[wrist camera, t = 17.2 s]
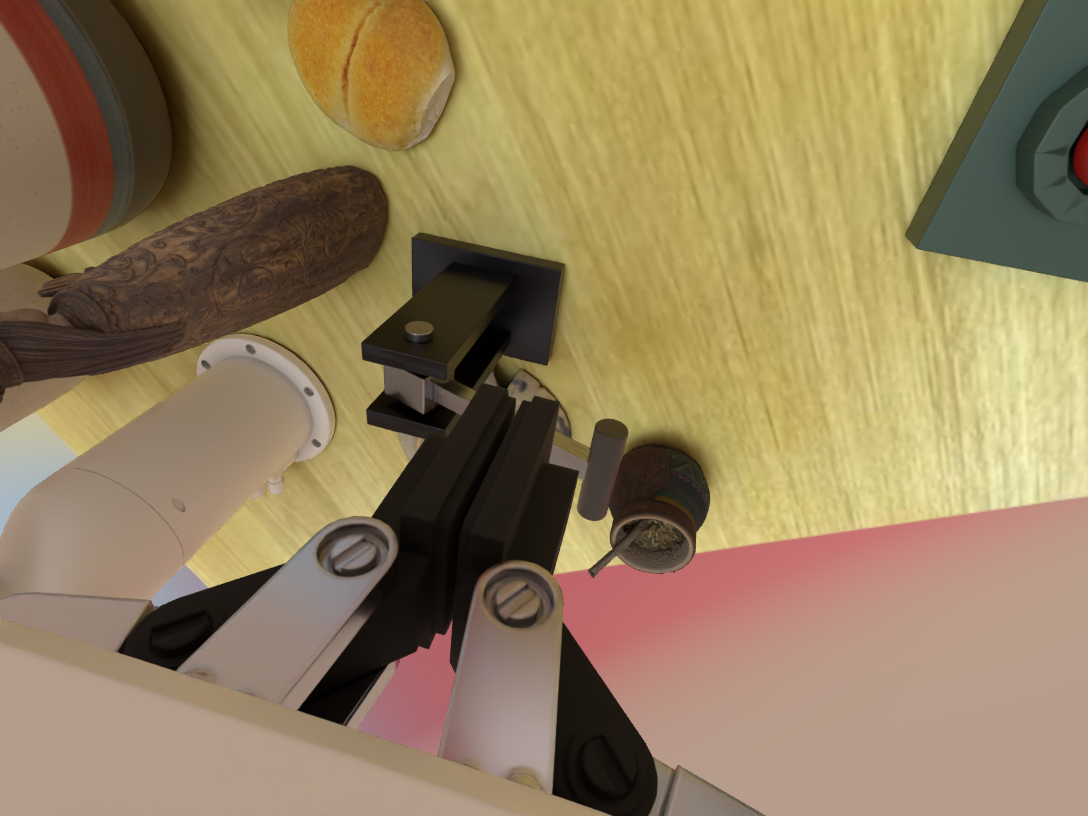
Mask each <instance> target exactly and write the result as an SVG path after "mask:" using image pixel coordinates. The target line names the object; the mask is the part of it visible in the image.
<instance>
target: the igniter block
mask: <svg viewBox="0 0 1088 816" xmlns="http://www.w3.org/2000/svg"><path fill="white" fill-rule="evenodd" d="M1087 128H1088V0H1025V2H1024V4H1023V6H1022V7H1021V9H1020V11H1019V13H1018V15H1017V17H1016V19H1015V21H1014V23H1013V25H1012V27H1011V29H1010V31H1009V33H1008V35H1007V37H1006V39H1005V41H1004V43H1003V45H1002V47H1001V49H1000V51H999V53H998V55H997V57H996V58H995V60H994V62H993V64H992V66H991V68H990V70H989V72H988V74H987V76H986V78H985V80H984V82H983V84H982V86H981V88H980V90H979V92H978V94H977V96H976V98H975V100H974V102H973V104H972V106H971V107H970V109H969V111H968V113H967V115H966V117H965V119H964V121H963V123H962V125H961V127H960V129H959V131H958V133H957V135H956V137H955V139H954V141H953V143H952V145H951V147H950V149H949V151H948V153H947V155H946V157H945V158H944V160H943V162H942V164H941V166H940V168H939V170H938V172H937V174H936V176H935V178H934V180H933V182H932V184H931V186H930V188H929V190H928V192H927V194H926V196H925V198H924V200H923V202H922V204H921V206H920V207H919V209H918V211H917V213H916V215H915V217H914V219H913V221H912V223H911V225H910V227H909V229H908V231H907V233H906V235H905V237H906V238H907V239H908V240H909V241H910V242H911V243H912V244H913V245H914V246H915V247H916V248H917V249H920V250H925V251H930V252H935V253H940V254H945V255H950V256H956V257H961V258H966V259H971V260H976V261H981V262H986V263H991V264H996V265H1001V266H1007V267H1012V268H1017V269H1022V270H1027V271H1032V272H1037V273H1042V274H1047V275H1053V276H1058V277H1063V278H1068V279H1073V280H1078V281H1083V282H1088V186H1087V185H1086V184H1084V183H1083V182H1082V181H1080V180H1079V178H1078V177H1077V175H1076V173H1075V171H1074V167H1073V156H1074V151H1075V148H1076V145H1077V143H1078V141H1079V139H1080V137H1081V136H1082V134H1083V133H1084V131H1085V130H1086V129H1087Z"/></svg>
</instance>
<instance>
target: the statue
mask: <svg viewBox="0 0 1088 816" xmlns="http://www.w3.org/2000/svg"><path fill="white" fill-rule="evenodd" d="M385 225H386V219H385V199H384V196H383V194H382V192H381V190H380V187H379V185H378V183H377V181H376V180H375V178H374V177H373V176H372V175H371V174H370V173H368V172H367V171H362V170H360V169H358V168H356V167H353V166H344V167H335V168H326V169H318V170H314V171H311V172H308V173H302V174H298V175H295V176H291V177H289V178H287V179H284V180H278V181H276V182H273V183H271V184H267V185H265V186H264V187H259V188H256V189H253V190H251V191H249V192H246V193H243V194H241V195H239V196H236V197H234V198H232V199H229V200H227V201H224V202H222V203H220V204H218V205H217V206H213V207H210V208H209V209H207V210H205V211H203V212H199V213H197V214H194V215H192V216H189V217H187V218H185V219H184V220H183V221H181V222H177V223H175V224H172V225H170V226H168V227H167V228H165V229H164V230H162V231H158V232H156V233H155V234H154V235H152V236H150V237H148V238H145V239H143V240H142V241H140V242H138V243H136V244H134V245H132V246H131V247H129V248H128V249H127V250H125V251H123V252H121V253H120V254H118V255H116V256H112V257H111V258H109V259H108V260H107V261H106V262H104V263H102V264H101V265H99V266H97V267H89V268H85V273H74V274H68V275H65V276H62V277H59V278H55V279H52V280H50V281H47V282H45V283H44V284H43V285H42V286H43V287H42V288H41V289H40V290H38V291H37V294H38V295H39V297H43V298H44V297H53V298H52V299H51V301H50V303H49V307H48V309H47V314H48V315H47V314H45V313H44V312H42V311H40V310H37V309H30V308H26V309H16V310H12V311H8V312H0V403H1V402H2V400H3V395H4V393H5V389H6V388H11V387H14V386H20V385H21V384H22V383H26V382H35V381H42V380H47V379H52V378H66V377H76V376H84V375H91V376H92V375H97V374H104V373H108V372H112V371H116V370H120V369H123V368H127V367H131V366H134V365H137V364H143V363H146V362H150V361H154V360H158V359H161V358H164V357H167V356H169V355H173V354H176V353H179V352H182V351H185V350H187V349H190V348H193V347H196V346H198V345H201V344H204V343H206V342H209V341H211V340H214V339H216V338H219V337H222V336H225V335H228V334H231V333H234V332H237V331H240V330H242V329H245V328H247V327H250V326H252V325H254V324H257V323H259V322H262V321H265V320H267V319H269V318H271V317H274V316H276V315H278V314H281V313H283V312H285V311H287V310H290V309H292V308H294V307H296V306H298V305H301V304H303V303H305V302H307V301H310V300H311V299H314V298H316V297H318V296H320V295H322V294H324V293H325V292H327V291H329V290H331V289H332V288H334V287H336V286H338V285H339V284H341V283H343V282H344V281H346V279H347V278H348V277H350V276H351V275H353V274H355V273H356V272H358V271H359V270H362V269H364V268H366V267H368V266H369V263H370V262H371V261H372V259H373V256H374V253H375V252H376V251H377V250H378V248H379V246H380V244H381V240H382V234H383V232H384V230H385Z"/></svg>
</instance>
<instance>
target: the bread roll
mask: <svg viewBox="0 0 1088 816" xmlns="http://www.w3.org/2000/svg"><path fill="white" fill-rule="evenodd" d="M288 40H289V46H290V50H291V55H292V58H293V61H294V64H295V67H296V69H297V71H298V74H299V76H300V78H301V80H302V82H303V84H304V86H305V88H306V89H307V91H308V93H309V94H310V96H311V97H312V99H313V100H314V102H315V103H316V104H317V106H318V107H319V108H320V109H321V110H322V111H323V112H324V113H325V114H326V115H327V116H328V117H329V118H330V119H331V120H332V121H333V122H334V123H336V124H337V125H339V126H340V127H342V128H343V129H344V130H346V131H347V132H349V133H351V134H353V135H354V136H356V137H357V138H358V139H360V140H361V141H363V142H364V143H366V144H368V145H371V146H373V147H377V148H381V149H386V150H392V151H398V150H406V149H408V148H410V147H412V146H413V145H415V144H417V143H419V142H420V141H422V140H424V139H426V138H427V137H428V135H429V133H430V132H431V130H432V129H433V127H434V125H435V124H436V122H437V120H438V119H439V117H440V115H441V114H442V111H443V109H444V106H445V104H446V101H447V100H448V96H449V93H450V90H451V89H452V85H453V82H454V79H455V69H454V65H453V62H452V58H451V55H450V51H449V47H448V42H447V39H446V35H445V33H444V30H443V28H442V25H441V24H440V22H439V21H438V19H437V18H436V16H435V15H434V13H433V12H432V10H431V9H430V8H429V6H428V5H427V4H426V3H425V2H424V1H423V0H293V1H292V4H291V7H290V11H289V18H288Z"/></svg>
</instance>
